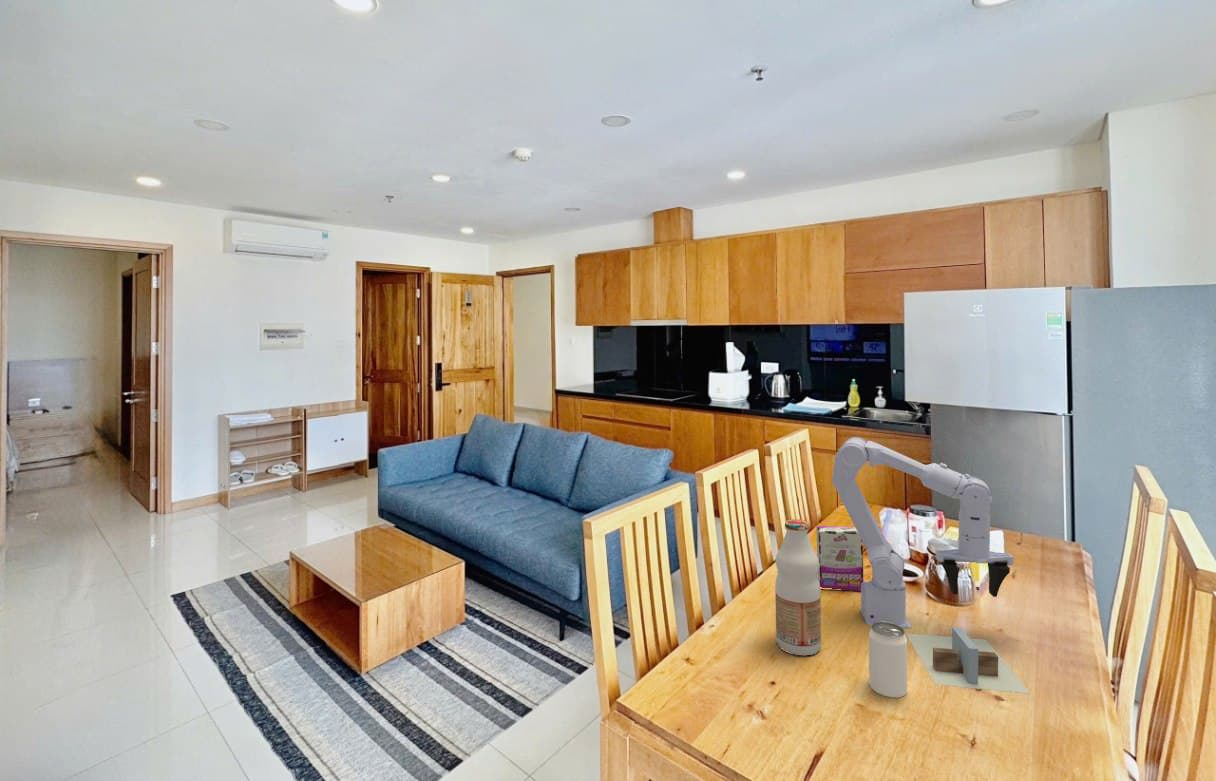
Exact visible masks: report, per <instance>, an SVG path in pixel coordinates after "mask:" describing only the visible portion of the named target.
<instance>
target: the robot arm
mask: <svg viewBox="0 0 1216 781" xmlns="http://www.w3.org/2000/svg"><path fill="white" fill-rule="evenodd" d="M866 462H868V467H873V466H881V465H885V466H887V467H890V468H893V469H895V470H898V471H900V472H903V473H906V474H908V475H911V476H914V477H916V478H918V479H919V480H920V481H921V483H922V485H923V486H924V487H925V488H928V489H929V490H933V491H935V492H938V493H940V494H941V495H944V496H946V497H949V498H951V499H954V500H955V499H957V500H959V502H960V503H959V508H960V509H959V511H958V538H957V539H958V540H957V542H958V548H956V549H955V548H954V549H945V550H944V549H942V550H939V549H938V550H935V560H937V561H938V563H941V565H942V568H943V570H944V572H945V574H946V577H947V580H948V584H949V588H950V589H949V590H950V592H951V593H952V594H953V595H958V594H959V584H958V583H959V582H958V581H959V573H960V567H959V566H958V563H959V562H960V563H963V562H964V563H976V564H987V569H988V570H987V571H988V594H989V595H990V596H992V597H994V598H997V597H998V593H999V590H1000V587H1001V585H1002V584H1003V581H1004V580H1005V579H1006V577H1007V576H1008V575H1009V574H1010V572H1011V568H1010V567H1009V566H1014V556H1013V555H1012V554H1010V553H1008V552H1007V553H1005V552H997V551H990V549H991V548H990V547H991V546H990V545H991V544H990V541H991V539H990V538H991V515H990V511H991V508H990V506H991V504H992V502H993V497H992V494H991V491H990V488H989V486H988V484H987V483H986V482H985V481H984V480H981V478H979V477H977V476H971V475H970V474H968V473H965V474H964V473H960V472H958V471H955V470H954V469H953V470H952V469H950V468H947V467H948V464H946V463H944V462H940V464H938V463H935V462H933V463H930V464H924V463H923V462H920V461H918V460H916V459H912V458H910V457H909V456H906V455H904V454H901V453H900V452H897V451H895V450H894V449H891V448H889V447H886V446H884V445H882V444H880V443H877V442H875V441H871V440H866V439H865V438H862V437H858V436H853V437H850V438H848V439H846V441H845V442H844V443H843V445H841V446H840V448H839V449H838V451H837V452H836V454H835V456H834V464H833V470H832V477H831V481H832V484H833V486H834V488H835V490H836V491H837V494H838V497H839V498H840V501H841V502H842V504H843V506H844V508H845V510H846V512H847V514H848V516H849V518H850V520H851V521H852V524H853V527H855V528H856V530H857V532H858V534H859V536H860V538H861V540H862V542H863V546H864V547H865V549H866V554H867V559H868V562H869V564H870V566H871V576H872V578H871V580H870V581H863V582H862V583H861V592H860V613H861V615H862V617H863V619H864V621H865V624H866V625H867V626H868V627H871V626H872V624H873V623H875V622H890V623H893V624H896V625H898V626H900V627H901V628H903V629H912V625H911V624H910V622H909V620H908V619H907V617H906V614H907V613H906V612H907V610H906V609H907V608H906V605H907V604H906V603H907V602H906V601H907V600H906V599H907V597H906V596H907V595H906V593H907V592H906V589H907V586H906V585H907V584H906V582H905V581H904V580H903V578H904V577H903V575H904V574H903V572H904V569H905V561H904V558H903V557H902V555H900V553H898V552H896V550H895V549H894V548H893V546H892V545H891V543H890V542H889V541H888V540H887V539H886V537H885V535H884V533H883V531H882V529H881V528H880V525H879V523H878V522H877V520H876V517H875V515H874V514H873V512H872V510H871V508H870V506H869V504H868V502H867V500H866V498H865V496H864V494H863V493H862V490H861V488H860V487H859V485H858V483H857V481H856V478H857V476H858V473H859V472H860V470H861V469H862V468H863V467H864V465H865V464H866ZM956 562H958V563H956Z"/></svg>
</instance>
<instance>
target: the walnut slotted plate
mask: <svg viewBox="0 0 1216 781" xmlns="http://www.w3.org/2000/svg"><path fill="white" fill-rule="evenodd" d="M933 668H934V669H935V671H941V672H952V673H963V665H962V663H961V662H960V661H959V660H958V653H957V652H956V650H955V649H945V648H933ZM978 675H985V676H996V677H998V656H997V655H996V654H995V653H994V652H982V651H978Z"/></svg>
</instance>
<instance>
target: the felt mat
mask: <svg viewBox="0 0 1216 781" xmlns="http://www.w3.org/2000/svg"><path fill="white" fill-rule="evenodd" d="M905 636H906V638H908V640H909V642H910V643H911V645H912V647H913V649H914V650H915V652H916V653H917V656H918V658H919V660H920V661H921V662H922V664H923V666H924V668H925V670H926V671H927V673H928V674H929V676H930V677H931V680H932V681H933V684H934V685H936V686H943V687H944V686H945V687H946V686H947V687H956V688H957V687H958V688H967V689H976V690H987V691H996V692H997V691H998V692H1007V693H1017V694H1019V693H1020V694H1030V695H1032V693H1031V691H1030V690H1029V689H1028V688H1027V687H1026V685H1024V683H1023V682H1022V680H1020V678H1019V677H1018V676H1017V674H1015V673H1014V671H1013V670H1012V669H1011V667H1009V665H1008V664H1007V663H1006V662H1005V661H1004V659H1003V658H1002V657H1001V656H1000V654H999V653H998V652H997V651H996V649H994V648H993V646H992V645H991V644H990V642H988V640H987V639H984V638H983V639H980V638H970V639H971V641H972V642H973V643H974V644H975V646H976V647H977V648H978V651H982V652H994V653H995V654H996V655H997V656H998V677H996V676H985V675H978V684H972V683H968V682H967V680H966V679H965V677H964V676H963V673H952V672H941V671H935V669H934V668H933V648H945V649H952V636H942V635H929V634H917V633H915V634H914V633H905Z"/></svg>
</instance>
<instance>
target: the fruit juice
mask: <svg viewBox="0 0 1216 781" xmlns="http://www.w3.org/2000/svg"><path fill="white" fill-rule="evenodd" d="M784 528H785V531H786V532H785V535H784V536H783V540H782V543H781V546H780V547H779V550H778V551H777V553H776V555H775V566H776V569H777V575H776V578H775V584H774V585H775V587H774V588H775V589H774V592H775V595H774V596H775V638H776V640H775V641H776V643H778V644H777V646H778V645H779V646H780V647H781V648H783V649H784V650H786V651H788V652H790V653H792V654H791V655H793V654H796V655H795V656H797V655H803V656H802V657H807V656H806V655H811V656H814V655H816V654H818V653H819V652H818V651H821V646H822V626H821V625H822V622H821V621H822V620H821V619H822V617H821V614H822V613H821V612H822V611H821V608H822V607H821V606H822V604H821V603H822V602H821V589H820V583H819V580H818V571H819V559H818V556H817V552H815V550H814V547H813V544H812V541H811V539H810V537H809V534H808V532H809V528H810V526H809V522H808V521H806V520H804V519H803V520H802V519H797V518H792V519H787V520H785V522H784ZM779 646H778V647H779ZM780 647H779V648H780ZM781 648H780V649H781ZM784 650H783V651H784ZM817 652H818V653H817ZM790 653H789V654H790ZM813 654H814V655H813ZM804 655H805V656H804Z"/></svg>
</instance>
